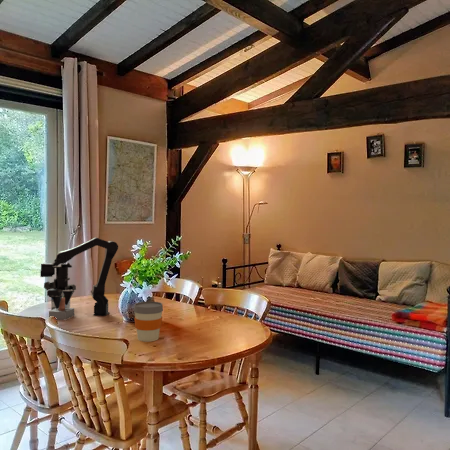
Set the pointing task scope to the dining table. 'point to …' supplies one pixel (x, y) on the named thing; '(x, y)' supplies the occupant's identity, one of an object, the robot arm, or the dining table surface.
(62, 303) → the peg
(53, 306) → the light bulb box
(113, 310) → the dining table surface
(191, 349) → the dining table surface
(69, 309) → the hole block
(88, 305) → the dining table surface
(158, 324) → the reusable coffee cup
